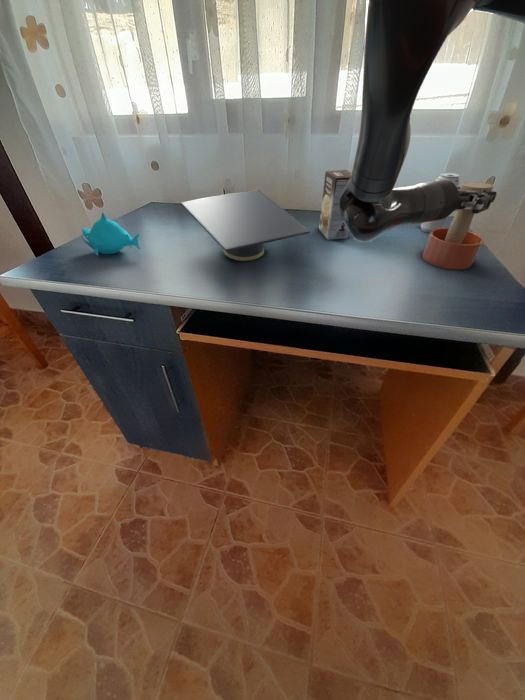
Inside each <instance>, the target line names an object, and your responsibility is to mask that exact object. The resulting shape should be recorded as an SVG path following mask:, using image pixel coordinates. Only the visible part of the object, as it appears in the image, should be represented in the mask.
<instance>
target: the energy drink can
mask: <svg viewBox="0 0 525 700" xmlns="http://www.w3.org/2000/svg"><path fill="white" fill-rule="evenodd" d="M459 177H460V174H458V173H453V172H441V173H440V174H439V176H438V177H437V178H436V179H435V181H440V180H449V181H451V182H453V183H454V184H455V185H456V186H459V185H460V178H459ZM446 219H447V217H446V218H444V219H441V220H436V221H431V222H425V223H420V224H419V226H420V228H421V231H423V232H426V233H429V234H430V232H431V231H432V230H434V229H438V228H444V227H443V226H444V224H445V221H446Z"/></svg>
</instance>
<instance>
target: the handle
mask: <svg viewBox="0 0 525 700" xmlns="http://www.w3.org/2000/svg"><path fill="white" fill-rule="evenodd" d="M459 187H460V189H463V190H475V191H477V192H479V193H484V192H491V191H493V188H494V184H491V183H487V182H476V181H475V182H474V181H470V182H463V183H461V184H460V186H459ZM469 196H470V195H469ZM477 198H479V197H477ZM477 198H476V199H477ZM474 215H475V214H473V213H472V209H462V210H458V211H456V212H455V215H454V217H453V218H452V220H451V223H450V225H449V227H448V228H449V230H448V233H447V235H446V238H445V241H446V242H450V243H455V244H461V243H462V241H463V239H464V238H465V235H466V233H467V231H469V229H470V226H471V224H472V221H473V218H474V217H475V216H474Z"/></svg>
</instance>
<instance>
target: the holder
mask: <svg viewBox="0 0 525 700" xmlns="http://www.w3.org/2000/svg"><path fill="white" fill-rule="evenodd" d="M448 230H449V227H442V228H438V229H434V230H432V231H431V232H430V233H429V234H428V235H429V236H428V238H427V240H426V244H425V246H424V249H423V252H422V255H421V256H422V259H423V260H424V261H425V262H427V263H428V264H430V265H432V266H435V267H438V268H441V269H448V270H466V269H469V268H471V267H472V265H473V264H474V262H475V260H476V258H477V256H478V254H479V252H480V250H481V248H482V245H483V243H484V238H483V236H481V235H479V234H478V233H476V232H473V231H470V230H468V231H467V233H466V235H465V238H464V239H463V241H462V243H461V244H455V243H450V242H446V241H445V238H446V235H447V233H448Z"/></svg>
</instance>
